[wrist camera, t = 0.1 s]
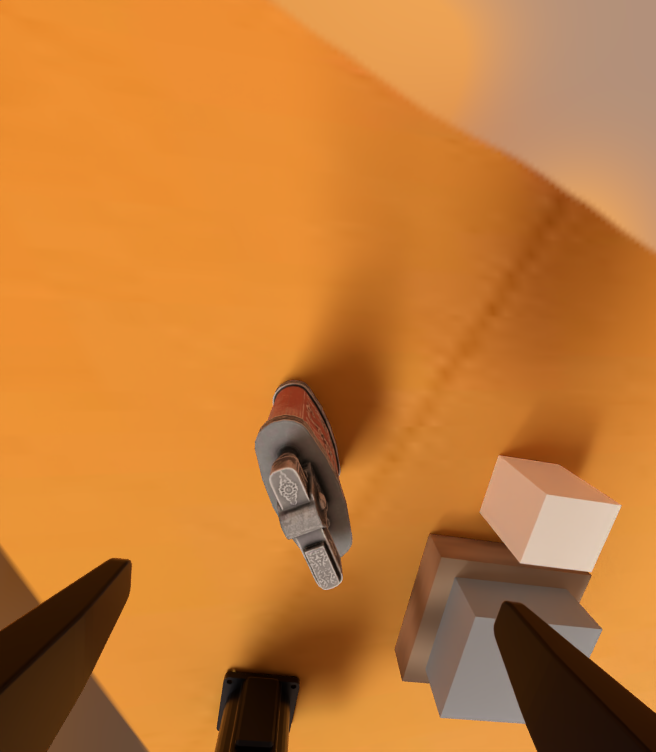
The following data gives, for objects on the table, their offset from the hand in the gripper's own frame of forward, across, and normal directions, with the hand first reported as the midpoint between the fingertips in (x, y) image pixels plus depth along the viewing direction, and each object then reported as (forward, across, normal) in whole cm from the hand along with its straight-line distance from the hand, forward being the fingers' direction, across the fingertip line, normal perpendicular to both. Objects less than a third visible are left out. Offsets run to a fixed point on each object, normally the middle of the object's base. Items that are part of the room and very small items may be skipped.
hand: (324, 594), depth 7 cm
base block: (+15, -17, +15) cm, 27 cm away
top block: (+12, -17, +15) cm, 26 cm away
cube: (+15, -17, +4) cm, 23 cm away
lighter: (+15, 0, +2) cm, 15 cm away
